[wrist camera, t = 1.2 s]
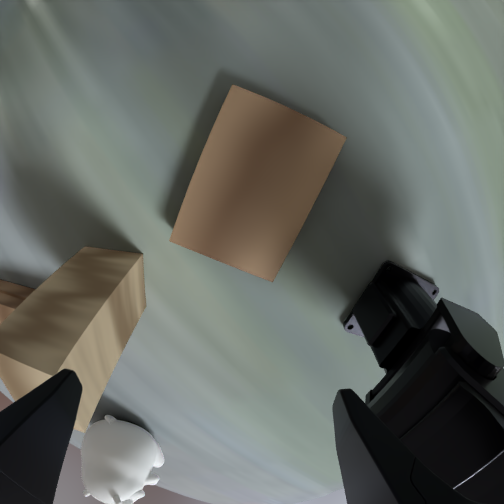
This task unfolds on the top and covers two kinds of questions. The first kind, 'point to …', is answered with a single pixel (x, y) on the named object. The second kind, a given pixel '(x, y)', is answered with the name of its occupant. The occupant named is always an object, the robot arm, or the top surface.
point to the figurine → (118, 461)
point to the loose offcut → (255, 183)
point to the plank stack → (11, 297)
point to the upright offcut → (75, 325)
